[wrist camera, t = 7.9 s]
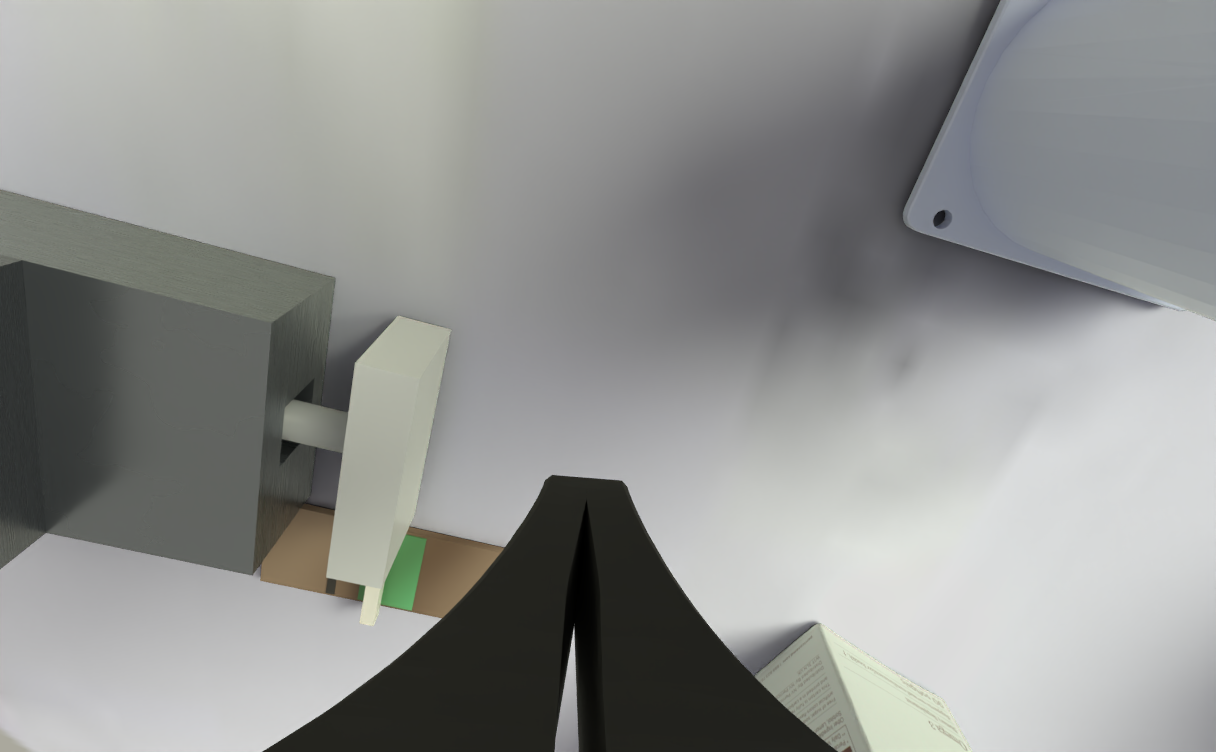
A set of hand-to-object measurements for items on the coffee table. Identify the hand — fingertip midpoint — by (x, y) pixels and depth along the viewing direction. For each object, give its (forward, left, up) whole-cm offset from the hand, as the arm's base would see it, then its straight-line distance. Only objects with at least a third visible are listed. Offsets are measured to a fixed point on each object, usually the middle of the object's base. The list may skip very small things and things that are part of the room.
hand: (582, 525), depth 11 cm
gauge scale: (+4, +11, -9) cm, 15 cm away
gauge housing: (+13, +4, -9) cm, 16 cm away
